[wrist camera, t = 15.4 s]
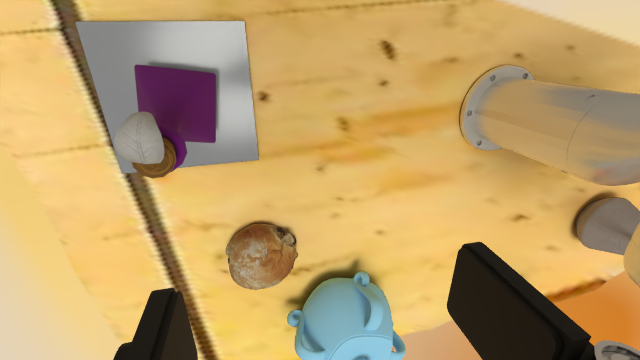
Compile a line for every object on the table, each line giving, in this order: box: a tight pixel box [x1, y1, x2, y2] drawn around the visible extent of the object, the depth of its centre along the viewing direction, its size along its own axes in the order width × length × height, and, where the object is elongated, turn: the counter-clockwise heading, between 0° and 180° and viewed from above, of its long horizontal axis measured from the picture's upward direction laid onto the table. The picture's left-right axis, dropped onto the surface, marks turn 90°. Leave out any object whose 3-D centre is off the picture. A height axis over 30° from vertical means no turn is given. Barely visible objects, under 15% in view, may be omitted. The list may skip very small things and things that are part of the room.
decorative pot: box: [287, 271, 406, 360], centre depth 49 cm, size 16×16×14 cm
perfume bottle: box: [114, 64, 216, 178], centre depth 27 cm, size 8×8×18 cm
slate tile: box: [75, 21, 259, 173], centre depth 35 cm, size 16×16×1 cm
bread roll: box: [226, 224, 298, 290], centre depth 45 cm, size 10×10×8 cm
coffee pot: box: [576, 197, 640, 255], centre depth 55 cm, size 21×12×15 cm, turn 68°
